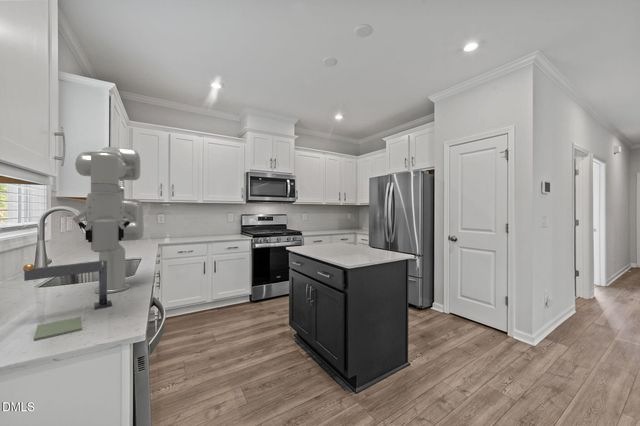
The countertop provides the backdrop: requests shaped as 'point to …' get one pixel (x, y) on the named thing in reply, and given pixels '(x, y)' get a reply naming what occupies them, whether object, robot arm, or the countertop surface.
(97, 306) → the clip base
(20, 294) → the countertop surface
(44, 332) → the mat
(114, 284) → the robot arm
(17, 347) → the countertop surface
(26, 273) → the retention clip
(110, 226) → the can
